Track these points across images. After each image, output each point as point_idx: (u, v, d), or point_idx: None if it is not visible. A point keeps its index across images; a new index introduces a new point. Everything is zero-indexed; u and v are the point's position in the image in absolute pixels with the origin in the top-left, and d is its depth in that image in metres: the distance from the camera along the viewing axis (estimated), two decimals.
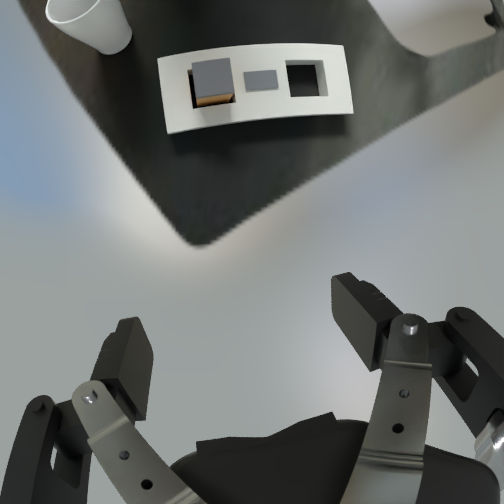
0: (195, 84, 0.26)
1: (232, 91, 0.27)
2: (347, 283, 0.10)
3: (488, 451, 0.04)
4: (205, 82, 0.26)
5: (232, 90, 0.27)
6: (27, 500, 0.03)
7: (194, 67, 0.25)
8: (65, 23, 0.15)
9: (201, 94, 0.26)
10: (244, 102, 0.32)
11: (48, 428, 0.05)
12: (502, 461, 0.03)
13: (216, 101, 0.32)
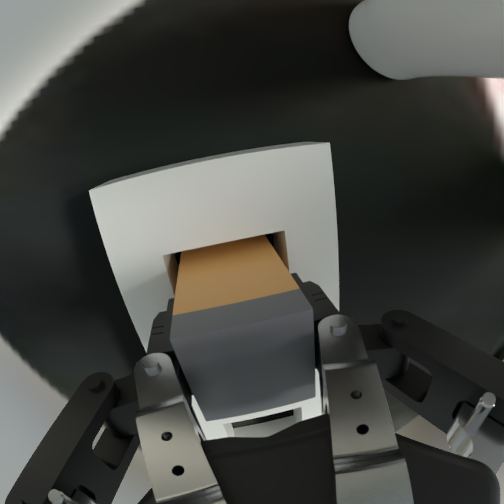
0: (221, 333, 0.08)
1: (206, 415, 0.09)
2: None
3: (466, 444, 0.04)
4: (230, 360, 0.08)
5: (209, 417, 0.09)
6: (54, 476, 0.04)
7: (293, 321, 0.08)
8: None
9: (184, 353, 0.08)
10: None
11: (100, 409, 0.06)
12: (485, 449, 0.04)
13: None
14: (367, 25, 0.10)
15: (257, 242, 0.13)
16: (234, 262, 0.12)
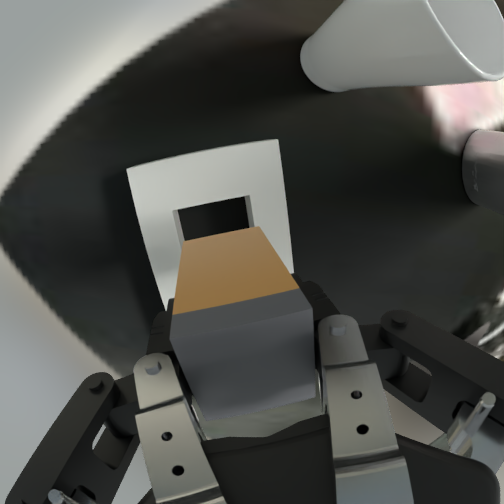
0: (221, 333, 0.08)
1: (206, 415, 0.09)
2: None
3: (467, 444, 0.04)
4: (230, 359, 0.08)
5: (208, 417, 0.09)
6: (54, 475, 0.04)
7: (292, 320, 0.08)
8: None
9: (183, 353, 0.08)
10: None
11: (101, 409, 0.06)
12: (485, 449, 0.04)
13: None
14: (309, 57, 0.17)
15: (257, 242, 0.13)
16: (234, 261, 0.12)
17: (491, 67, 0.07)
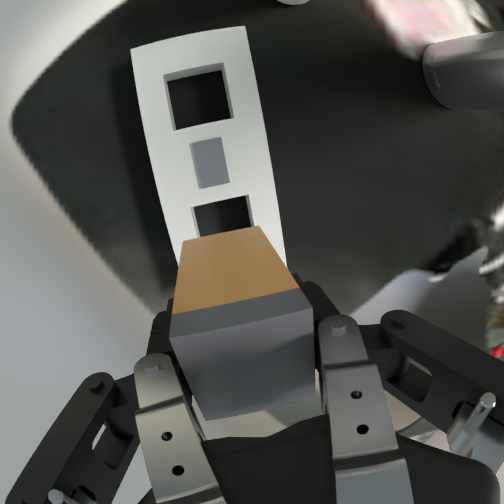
0: (221, 332, 0.08)
1: (205, 415, 0.09)
2: None
3: (467, 443, 0.04)
4: (230, 359, 0.08)
5: (208, 417, 0.09)
6: (54, 475, 0.04)
7: (292, 320, 0.08)
8: None
9: (183, 352, 0.08)
10: (173, 142, 0.23)
11: (101, 409, 0.06)
12: (485, 449, 0.04)
13: None
14: None
15: (257, 242, 0.13)
16: (234, 261, 0.12)
17: None
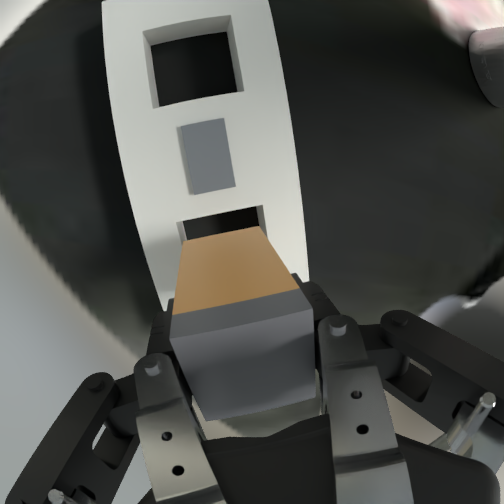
0: (221, 333, 0.08)
1: (205, 415, 0.09)
2: None
3: (467, 444, 0.04)
4: (230, 360, 0.08)
5: (208, 417, 0.09)
6: (53, 475, 0.04)
7: (292, 321, 0.08)
8: None
9: (183, 352, 0.08)
10: (153, 126, 0.15)
11: (101, 410, 0.06)
12: (485, 448, 0.04)
13: None
14: None
15: (257, 242, 0.13)
16: (234, 261, 0.12)
17: None
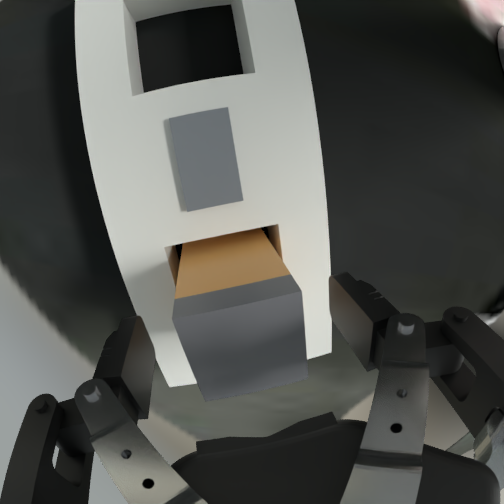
0: (219, 313, 0.09)
1: None
2: (344, 283, 0.10)
3: (487, 451, 0.04)
4: (227, 339, 0.09)
5: (207, 397, 0.10)
6: (28, 499, 0.03)
7: (283, 302, 0.09)
8: None
9: (184, 332, 0.09)
10: (132, 119, 0.10)
11: (51, 427, 0.05)
12: (501, 460, 0.03)
13: None
14: None
15: (253, 235, 0.14)
16: (232, 252, 0.12)
17: None
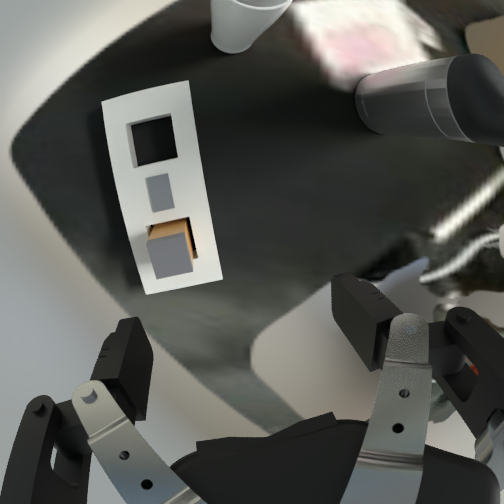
0: (159, 242, 0.28)
1: (156, 277, 0.29)
2: (347, 283, 0.10)
3: (488, 451, 0.04)
4: (162, 251, 0.28)
5: (157, 277, 0.29)
6: (27, 500, 0.03)
7: (179, 239, 0.28)
8: None
9: (149, 248, 0.28)
10: (133, 177, 0.30)
11: (49, 428, 0.05)
12: (502, 461, 0.03)
13: None
14: (211, 33, 0.26)
15: (181, 221, 0.33)
16: (170, 227, 0.32)
17: None
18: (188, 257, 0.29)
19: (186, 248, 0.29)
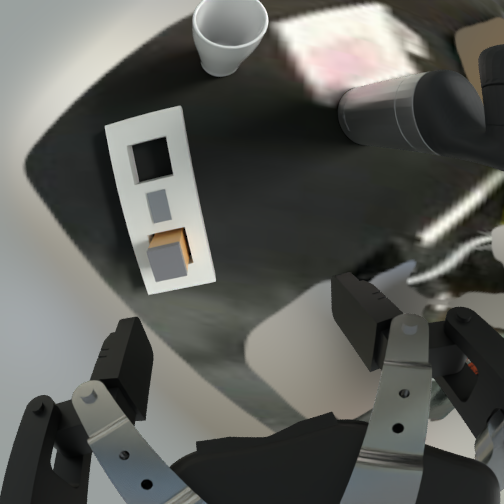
0: (158, 250, 0.33)
1: (155, 280, 0.34)
2: (347, 283, 0.10)
3: (488, 451, 0.04)
4: (160, 258, 0.33)
5: (156, 280, 0.34)
6: (27, 500, 0.03)
7: (174, 248, 0.33)
8: (193, 14, 0.18)
9: (149, 256, 0.33)
10: (135, 193, 0.35)
11: (49, 428, 0.05)
12: (502, 461, 0.03)
13: None
14: None
15: (178, 231, 0.38)
16: (168, 236, 0.37)
17: None
18: (182, 263, 0.34)
19: (180, 255, 0.33)
